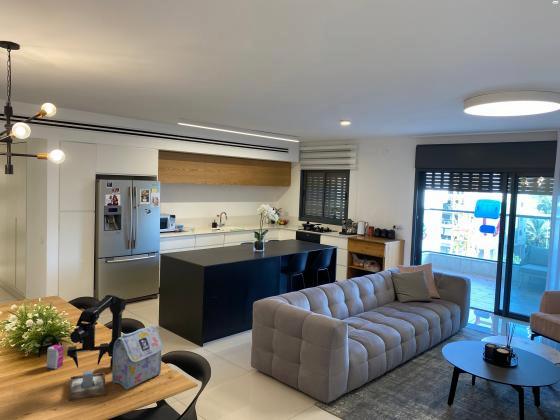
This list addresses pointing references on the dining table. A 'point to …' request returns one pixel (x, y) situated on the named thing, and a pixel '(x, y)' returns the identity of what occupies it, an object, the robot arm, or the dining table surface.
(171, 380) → the dining table surface
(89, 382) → the peg
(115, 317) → the robot arm
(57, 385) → the dining table surface
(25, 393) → the dining table surface
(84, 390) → the shallow tray
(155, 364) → the lunch bag
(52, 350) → the supplement box
